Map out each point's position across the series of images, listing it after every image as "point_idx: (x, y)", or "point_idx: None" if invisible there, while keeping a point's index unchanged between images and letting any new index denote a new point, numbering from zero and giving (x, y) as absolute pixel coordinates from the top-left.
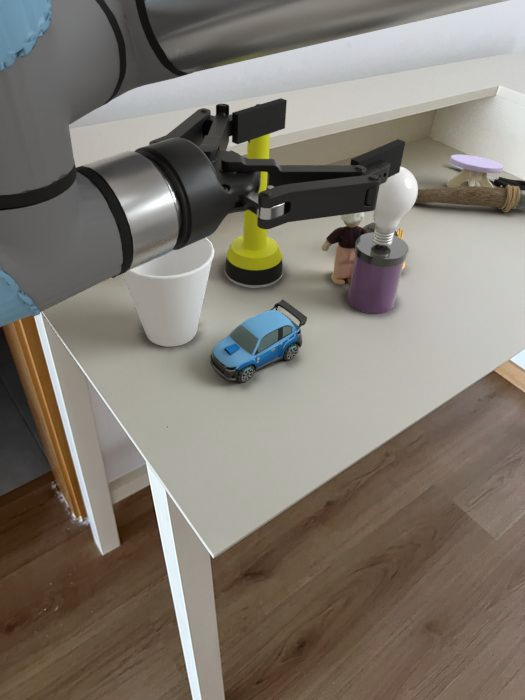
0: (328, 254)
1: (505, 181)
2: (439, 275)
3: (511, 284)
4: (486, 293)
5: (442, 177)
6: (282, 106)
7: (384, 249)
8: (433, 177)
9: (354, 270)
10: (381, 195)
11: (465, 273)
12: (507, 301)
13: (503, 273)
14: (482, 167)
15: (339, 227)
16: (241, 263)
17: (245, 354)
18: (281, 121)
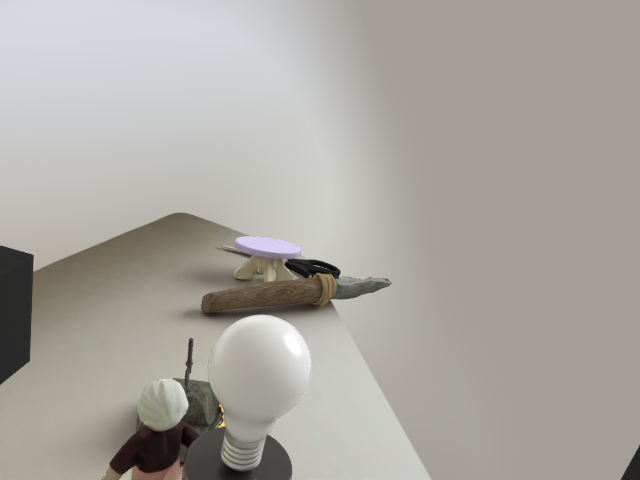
0: (98, 458)
1: (297, 263)
2: (299, 447)
3: (394, 432)
4: (377, 463)
5: (222, 265)
6: (15, 285)
7: (249, 474)
8: (211, 266)
9: None
10: (254, 389)
11: (330, 430)
12: (409, 469)
13: (374, 413)
14: (280, 253)
15: (135, 434)
16: None
17: None
18: (13, 344)
